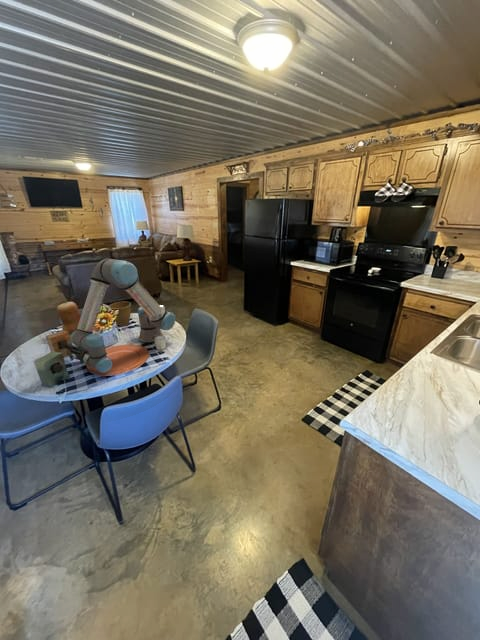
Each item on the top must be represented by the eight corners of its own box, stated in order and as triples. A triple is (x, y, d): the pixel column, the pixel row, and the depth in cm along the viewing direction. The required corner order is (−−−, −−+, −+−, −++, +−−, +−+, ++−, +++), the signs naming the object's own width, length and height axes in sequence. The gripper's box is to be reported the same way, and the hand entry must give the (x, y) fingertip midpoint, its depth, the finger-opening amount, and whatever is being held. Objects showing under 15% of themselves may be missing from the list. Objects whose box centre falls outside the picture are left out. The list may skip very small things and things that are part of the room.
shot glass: (168, 345, 169) (167, 336, 166) (162, 350, 163) (161, 340, 160) (159, 344, 171) (158, 334, 168) (153, 349, 165) (151, 339, 162)
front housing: (68, 375, 138) (61, 352, 133) (51, 387, 129) (42, 363, 124) (60, 374, 140) (52, 351, 134) (42, 385, 131) (33, 361, 126)
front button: (64, 370, 133) (61, 363, 131) (56, 374, 129) (54, 367, 128) (59, 369, 134) (57, 362, 132) (51, 373, 130) (49, 366, 128)
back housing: (74, 352, 161) (69, 332, 155) (57, 359, 153) (50, 338, 147) (69, 350, 164) (63, 329, 158) (52, 357, 156) (45, 336, 150)
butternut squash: (65, 335, 183) (55, 301, 173) (87, 331, 189) (78, 298, 179) (64, 343, 172) (54, 307, 162) (87, 338, 178) (78, 304, 168)
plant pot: (119, 320, 207) (115, 301, 201) (137, 321, 206) (134, 301, 200) (108, 328, 194) (104, 307, 187) (128, 329, 192) (124, 308, 186)
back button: (69, 347, 155) (67, 341, 153) (62, 349, 152) (60, 343, 150) (66, 345, 157) (64, 339, 155) (59, 348, 153) (57, 342, 152)
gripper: (79, 369, 136) (56, 356, 148) (102, 358, 146) (80, 347, 158) (75, 357, 133) (53, 345, 145) (99, 346, 144) (77, 336, 155)
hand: (67, 346), depth 152 cm, fingers closed
